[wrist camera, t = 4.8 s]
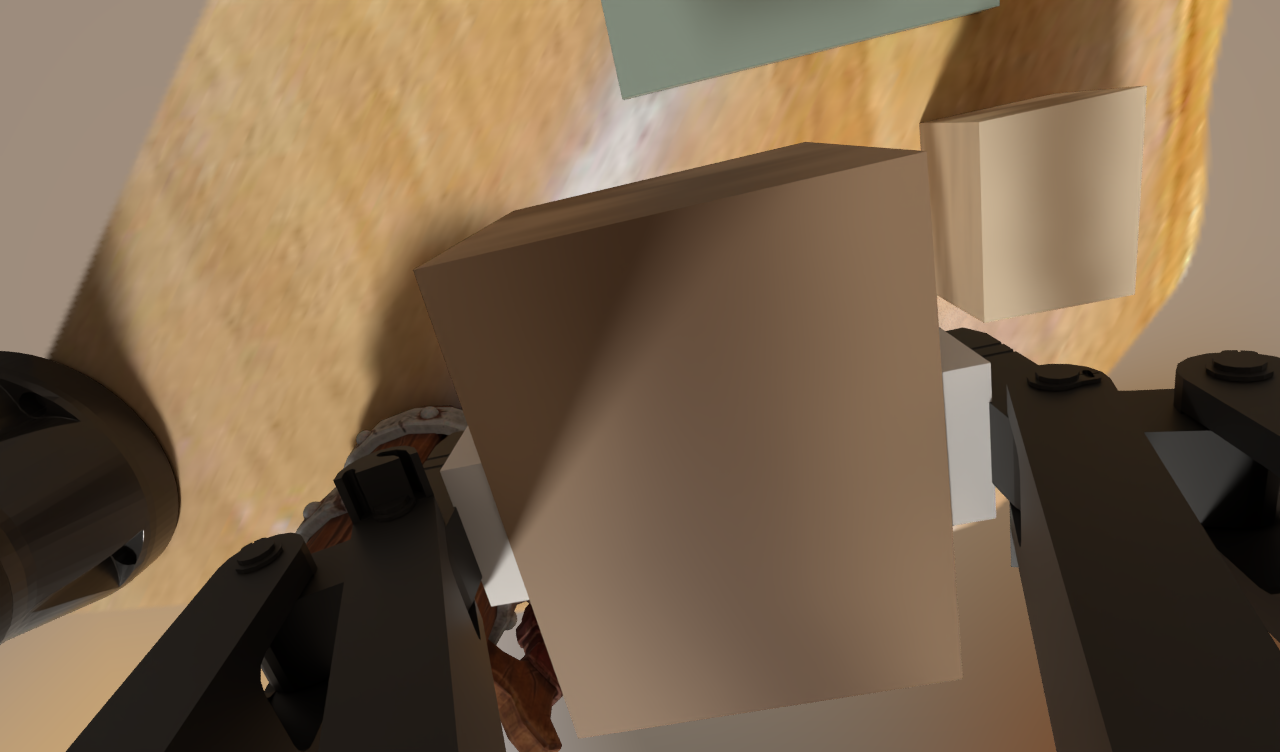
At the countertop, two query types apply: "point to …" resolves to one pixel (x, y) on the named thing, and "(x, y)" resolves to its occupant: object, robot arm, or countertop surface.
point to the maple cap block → (1037, 202)
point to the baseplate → (749, 33)
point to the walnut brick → (716, 431)
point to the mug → (517, 682)
